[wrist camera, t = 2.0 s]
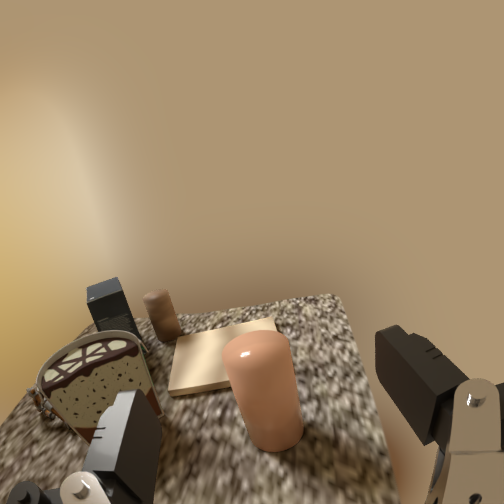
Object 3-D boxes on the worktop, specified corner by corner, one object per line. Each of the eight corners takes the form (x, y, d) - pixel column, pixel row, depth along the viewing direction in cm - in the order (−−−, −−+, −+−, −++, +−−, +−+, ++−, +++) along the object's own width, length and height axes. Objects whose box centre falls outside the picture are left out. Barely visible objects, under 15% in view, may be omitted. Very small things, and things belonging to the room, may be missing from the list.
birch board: (170, 396, 32) (167, 390, 32) (179, 342, 44) (177, 336, 43) (290, 372, 33) (289, 366, 32) (273, 322, 44) (271, 316, 44)
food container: (154, 383, 35) (123, 315, 32) (176, 408, 30) (141, 334, 27) (72, 425, 28) (30, 358, 25) (83, 456, 23) (31, 386, 20)
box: (148, 353, 42) (122, 288, 39) (114, 366, 40) (84, 302, 36) (139, 332, 49) (117, 275, 46) (109, 344, 46) (85, 287, 43)
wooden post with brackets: (38, 402, 31) (29, 381, 29) (81, 431, 30) (74, 412, 28) (30, 409, 29) (21, 389, 27) (74, 440, 28) (66, 421, 26)
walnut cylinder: (155, 343, 44) (140, 303, 42) (159, 330, 48) (145, 292, 46) (180, 339, 44) (165, 298, 42) (182, 326, 48) (169, 287, 46)
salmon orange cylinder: (253, 457, 22) (222, 376, 19) (247, 418, 27) (220, 338, 24) (309, 443, 23) (295, 359, 20) (297, 407, 27) (281, 324, 24)
